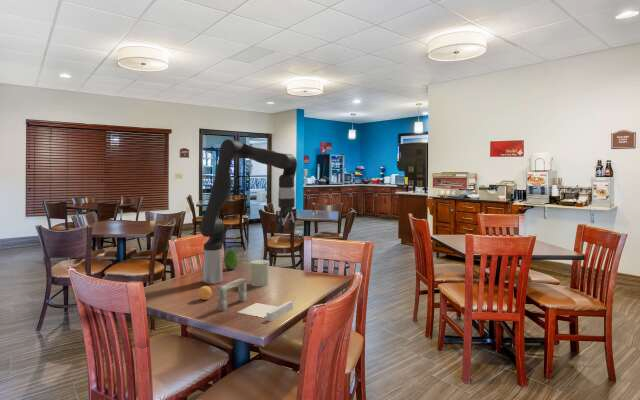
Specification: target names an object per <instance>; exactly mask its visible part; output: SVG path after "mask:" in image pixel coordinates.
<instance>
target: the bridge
mask: <svg viewBox="0 0 640 400" xmlns="http://www.w3.org/2000/svg"><path fill="white" fill-rule="evenodd" d="M247 282H248V281H247V278H242V277H241V278H239V279H235V280H232V281H230V282H227V283H225V284H222V285H219V286H217V290H218V291H217V304H218V305H217V308H218V309H217V310H218V311H221V312H224V311H227V310H228V290H229V289H231V288H234V287H237V286H238V287H237V288H238V290H237V291H238V292H237V293H238V302H247V299H248V297H247V296H248V294H247V293H248V290H247V289H248V287H247V286H248V284H247Z"/></svg>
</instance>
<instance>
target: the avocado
mask: <svg viewBox="0 0 640 400" xmlns="http://www.w3.org/2000/svg"><path fill="white" fill-rule="evenodd" d="M223 262H224V266H225V268H226V269H228V270H233V269H235V268H236V267H237V266H238V263H239V258H238V255H237V253H236V251H235V250H234V249H232V248H231V249H228V250H227V252H226V254H225V256H224V259H223Z"/></svg>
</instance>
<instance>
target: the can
mask: <svg viewBox="0 0 640 400" xmlns="http://www.w3.org/2000/svg"><path fill="white" fill-rule="evenodd" d="M250 266H251V267H250V268H251V269H250V270H251V274H250V275H251V279H250V280H251V281H250V284H251V286H253V287H266V286H269V285H270V262H269V260H267V259H256V260H255V259H254V260H252V261H251V262H250Z"/></svg>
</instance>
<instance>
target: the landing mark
mask: <svg viewBox="0 0 640 400" xmlns="http://www.w3.org/2000/svg"><path fill="white" fill-rule="evenodd" d="M276 307H277V306H275V305H270V304H265V303H264V304H263V303H258V302H255V303H253V304H250V305H249V306H246V307H245V308H243V309H240V310H239V311H237V312H236V313H237V314H243V315H246V316H250V317H251V316H252V317H256V316H257V318H261V317H262V319H265V318H267V312H269V311H271V310H273V309H275V308H276ZM264 317H265V318H264Z"/></svg>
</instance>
